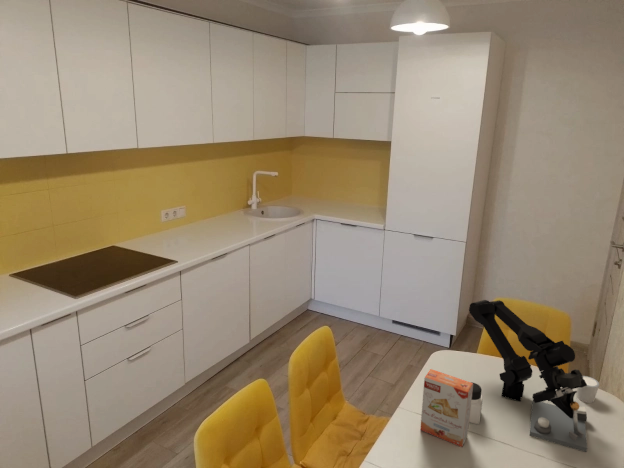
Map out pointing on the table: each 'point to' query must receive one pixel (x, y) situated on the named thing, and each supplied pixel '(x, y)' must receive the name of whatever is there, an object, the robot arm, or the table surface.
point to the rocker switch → (581, 410)
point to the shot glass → (588, 390)
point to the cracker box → (446, 407)
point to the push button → (543, 422)
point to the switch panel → (558, 426)
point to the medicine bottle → (476, 404)
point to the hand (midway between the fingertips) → (573, 417)
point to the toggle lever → (575, 415)
